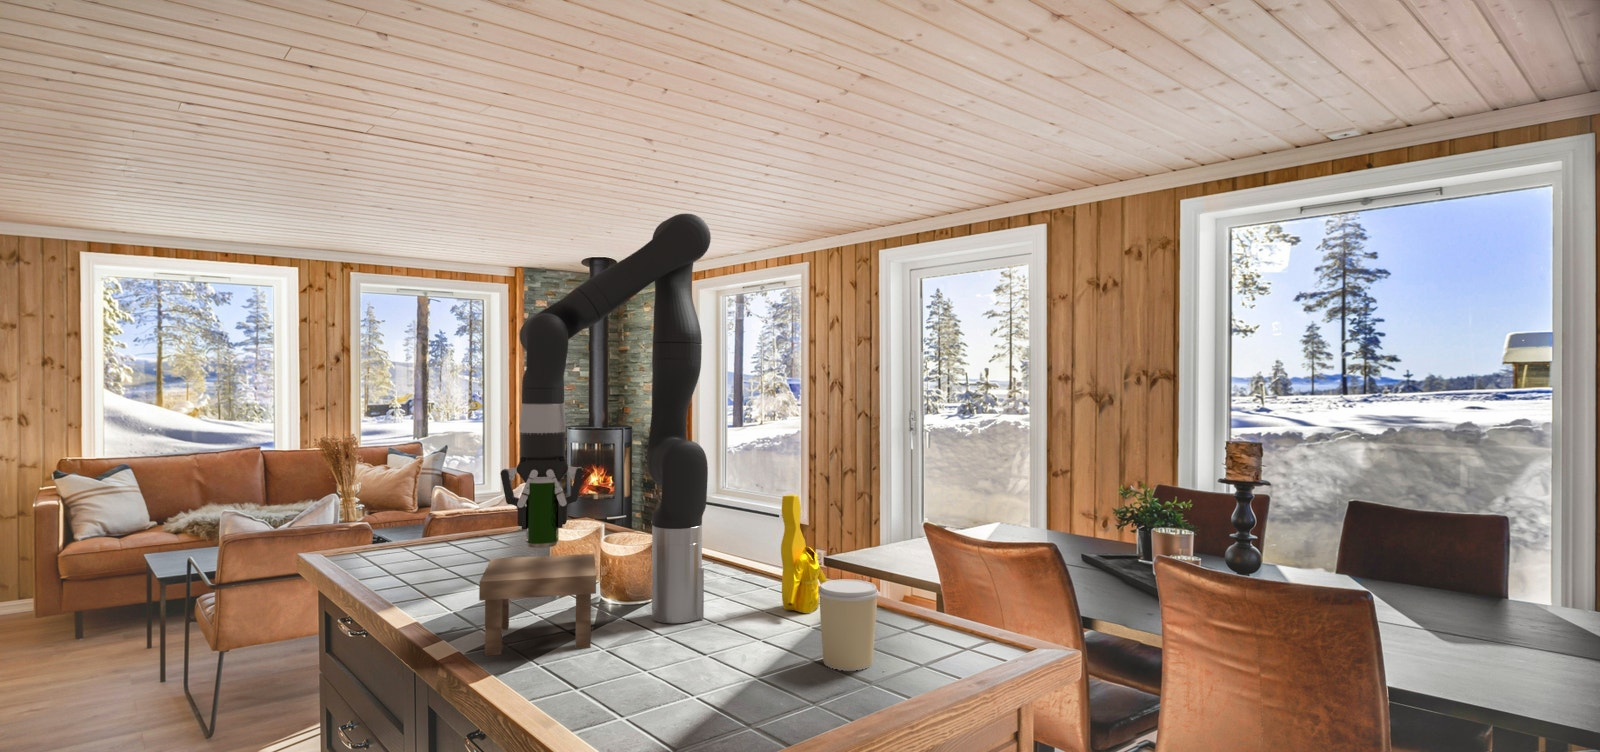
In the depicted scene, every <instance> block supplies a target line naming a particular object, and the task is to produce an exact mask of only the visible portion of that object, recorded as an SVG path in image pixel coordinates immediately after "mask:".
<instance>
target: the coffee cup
mask: <svg viewBox="0 0 1600 752" xmlns="http://www.w3.org/2000/svg"><path fill="white" fill-rule="evenodd" d="M818 593H819V614H820V615H819V617H820V631H821V632H820V633H821V645H822V646H821V649H822V658H823V664H824V665H825V666H826V667H827V666H828V668H829V667H830V669H832V668H833V669H832V670H835V669H838V670H837V671H841V670H843V671H844V672H855V671H856V670H858V671H862V669H863V670H866V669H865V668H867V669H869V668H870V667H871V666H873V662H874V661H873V660H874V651H875V634H876V620H877V607H878V605H877V603H878V596H879V590H878V588H877V585H876V584H875V583H873V582H870V581H866V580H861V579H852V578H851V579H850V578H849V579H846V578H845V579H832V580H827V582H824V583H822V584H820V586H819V590H818ZM868 667H869V668H868ZM856 672H857V671H856Z"/></svg>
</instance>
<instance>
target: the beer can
mask: <svg viewBox="0 0 1600 752" xmlns="http://www.w3.org/2000/svg"><path fill="white" fill-rule="evenodd" d="M551 478H552V477H547V476H537V477H533V479H532V480H531V481H530V483H529V496H528V498H527V500H526V530H525V543H526V545H527V547H528V548H531V549H532V548H533V549H534V548H535V549H543V548H552V547H554V546H555V547H556V546H557V544H558V542H559V537H560V534H559V530H560V528H558V506H559V505H560V504H559V501H558V499H557V495H556V494H555V481H554V480H553V479H551ZM527 488H528V487H527ZM556 488H557V487H556Z"/></svg>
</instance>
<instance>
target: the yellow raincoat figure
mask: <svg viewBox="0 0 1600 752" xmlns="http://www.w3.org/2000/svg"><path fill="white" fill-rule="evenodd" d="M801 513H802V506H801V501H800V497H799V494H786V495H782V500H781V516H782V519H783V521H782V522H783V525H784V526H783V527H784V531H783V536H782V540H781V545H780V555H781V562H782V576H781V578H782V579H781V598H782V599H781V600H782V605H783V606H782V607H783V610H785V611H796V612H799V613H803V614H811V613H810V612H812V613H813V612H815V611H816V610H817V608H819V607H820V598H819V593H818V590H819V588H820V586H819V583H820V585H821V584H822V583H824V582H827V581H828V579H827V577H826V575H825V574H824V571H823V570H822V569H821V566H820V564H819V561H818V558H819V555H818V554H817V553H816V552H815V551H814V550H813V548H811V547H810V546H807V545H806V539H805V538H804V535H803V532H802V529H801V525H800V523H801V517H802V515H801ZM814 610H815V611H814Z"/></svg>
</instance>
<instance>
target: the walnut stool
mask: <svg viewBox="0 0 1600 752" xmlns="http://www.w3.org/2000/svg"><path fill="white" fill-rule="evenodd" d="M596 570H597V568H596V558H595V553H583V554H565V555H563V554H562V555H545V556H544V555H542V556H524V557H523V556H521V557H503V558H501V557H499V558H491V559H490V560H489V562H488V565H487V566H486V568H485V570H484V572H483V574H482V576H481V577H480V579H479V584H478V585H479V587H478V588H479V591H478V592H479V593H478V594H479V595H478V596H479V597H478V599H479V601H482V602H483V601H484V656H497V655H499V656H500V655H502V652H503V651H502V650H503V631H505V630H509V628H510V600H512V599H529V598H547V597H563V596H575V649H588V648H590V649H591V648H592V647H591V646H592V645H591V643H592V642H591V641H592V640H591V639H592V638H591V636H592V634H591V633H592V632H591V631H592V626H591V625H592V624H591V623H592V622H591V621H592V609H591V608H592V602H591V601H592V595H593V594H597V571H596Z"/></svg>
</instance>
